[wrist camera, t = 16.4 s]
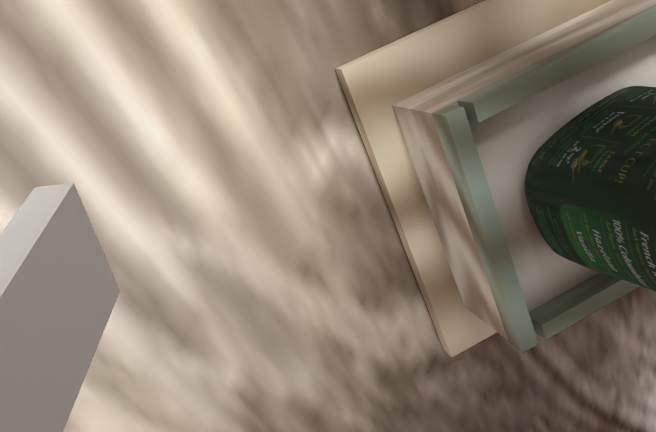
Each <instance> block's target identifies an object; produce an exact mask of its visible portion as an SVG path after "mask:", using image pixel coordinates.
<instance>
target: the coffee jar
mask: <svg viewBox="0 0 656 432" xmlns="http://www.w3.org/2000/svg"><path fill="white" fill-rule="evenodd" d="M525 194H526V199H527V203H528V206H529V210H530V213H531V215H532V217H533V219H534V222H535V224H536V226H537V228H538V230H539V232H540V233H541V235H542V237H543V238H544V240H545V241H546V243H547V244H548V245H549V246H550V248H551V249H552V250H553V251H554V252H555V253H557V254H558V255H560V256H562V257H563V258H565V259H568V260H570V261H572V262H575V263H577V264H579V265H582V266H584V267H587V268H589V269H592V270H595V271H598V272H600V273H603V274H606V275H609V276H612V277H615V278H618V279H622V280H625V281H628V282H631V283H634V284H637V285H640V286H643V287H646V288H648V289H651V290H654V291H656V87H648V86H630V87H626V88H623V89H620V90H618V91H616V92H614V93H612V94H610V95H608V96H606V97H605V98H603V99H601V100H600V101H598V102H596V103H594V104H593V105H591V106H590V107H588V108H587V109H585V110H584V111H582V112H581V113H580V114H578V115H577V116H576V117H574V118H573V119H571V120H570V121H569V122H567V123H566V124H565V125H564V126H563V127H561V128H560V129H559V130H558V131H557V132H555V133H554V134H553V135H552V136H551V137H550V138H549V139H548V140H547V141H546V142H545V143H544V144H543V145H542V146H541V147H540V148H539V149H538V150H537V151H536V152H535V154H534V155H533V157H532V159H531V161H530V163H529V164H528V169H527V173H526V178H525Z"/></svg>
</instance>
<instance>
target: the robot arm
mask: <svg viewBox="0 0 656 432" xmlns="http://www.w3.org/2000/svg"><path fill="white" fill-rule="evenodd" d="M119 292H120V289H119V287H118V285H117V282H116V280H115V278H114V275H113V273H112V271H111V268H110V266H109V264H108V262H107V259H106V257H105V255H104V252H103V250H102V248H101V245H100V243H99V241H98V238H97V236H96V234H95V231H94V229H93V227H92V224H91V222H90V220H89V218H88V215H87V213H86V211H85V208H84V206H83V204H82V201H81V199H80V197H79V194H78V192H77V190H76V187H75V185H74V183H69V184H60V185H52V186H43V187H35V188H34V189H33V191H32V192H31V194H30V195H29V196H28V198H27V199H26V200H25V202H24V203H23V204H22V206H21V207H20V209H19V210H18V211H17V213H16V214H15V215H14V217H13V218H12V219H11V221H10V222H9V224H8V225H7V226H6V228H5V229H4V230H3V232H2V233H1V234H0V432H63V430H64V427H65V425H66V423H67V420H68V418H69V415H70V413H71V410H72V408H73V405H74V403H75V400H76V398H77V395H78V393H79V391H80V388H81V386H82V383H83V381H84V378H85V376H86V373H87V371H88V368H89V366H90V363H91V361H92V358H93V356H94V354H95V351H96V349H97V346H98V344H99V341H100V339H101V336H102V334H103V331H104V329H105V326H106V324H107V322H108V319H109V317H110V314H111V312H112V309H113V307H114V304H115V302H116V299H117V297H118V294H119Z"/></svg>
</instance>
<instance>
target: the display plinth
mask: <svg viewBox="0 0 656 432" xmlns="http://www.w3.org/2000/svg"><path fill="white" fill-rule="evenodd" d="M335 71H336V73H337V76H338V78H339V81H340V84H341V86H342V89H343V91H344V94H345V96H346V99H347V102H348V104H349V107H350V109H351V112H352V115H353V117H354V120H355V122H356V125H357V127H358V130H359V133H360V135H361V138H362V140H363V143H364V146H365V148H366V151H367V153H368V156H369V158H370V161H371V164H372V166H373V169H374V171H375V174H376V177H377V179H378V182H379V184H380V187H381V189H382V192H383V195H384V197H385V200H386V202H387V205H388V208H389V210H390V213H391V215H392V218H393V220H394V223H395V226H396V228H397V231H398V233H399V236H400V239H401V241H402V244H403V246H404V249H405V251H406V254H407V257H408V259H409V262H410V264H411V267H412V270H413V272H414V275H415V277H416V280H417V282H418V285H419V288H420V290H421V293H422V295H423V298H424V301H425V303H426V306H427V308H428V311H429V313H430V316H431V319H432V321H433V324H434V326H435V329H436V332H437V334H438V337H439V339H440V342H441V344H442V347H443V349H444V350H445V351H446V352H447V353H448V354H449V355H450V356H451V357H454V356H456V355H457V354H459V353H461V352H463V351H465V350H466V349H468V348H470V347H472V346H474V345H475V344H477V343H479V342H481V341H482V340H484V339H486V338H488V337H490V336H491V335H493V334H495V333H497V332H498V333H499V334H500V335H501V336H503V337H504V338H505V339H507V340H508V341H509V342H510V343H512V344H513V345H514V346H515V347H517V348H518V349H519V350H521V351H522V352H523V353H524V352H526V351H527V350H529V349H531V348H533V347H534V346H536V345H538V344H539V343H538V340H537V337H536V334H535V332H536V333H538V334H539V335H540V336H542V337H543V338H545V339H546V340H547V339H548V338H550V337H552V336H554V335H555V334H557V333H559V332H561V331H562V330H564V329H566V328H568V327H569V326H571V325H573V324H575V323H576V322H578V321H580V320H582V319H583V318H585V317H587V316H589V315H590V314H592V313H594V312H596V311H597V310H599V309H601V308H603V307H604V306H606V305H608V304H610V303H612V302H613V301H615V300H617V299H619V298H620V297H622V296H624V295H626V294H627V293H629V292H631V291H633V290H634V289H636V288H638V287H640V285H637V284H634V283H631V282H628V281H625V280H622V279H618V278H615V277H612V276H609V275H606V274H603V273H600V272H598V271H595V270H592V269H589V268H587V267H584V266H582V265H579V264H577V263H575V262H572V261H570V260H568V259H565V258H563V257H562V256H560V255H558V254H557V253H555V252H554V251H553V250H552V249H551V248H550V246H549V245H548V244H547V243H546V241H545V240H544V238H543V237H542V235H541V233H540V232H539V230H538V228H537V226H536V224H535V222H534V219H533V217H532V215H531V213H530V210H529V206H528V203H527V199H526V194H525V178H526V173H527V169H528V164H529V163H530V161H531V159H532V157H533V155H534V154H535V152H536V151H537V150H538V149H539V148H540V147H541V146H542V145H543V144H544V143H545V142H546V141H547V140H548V139H549V138H550V137H551V136H552V135H553V134H554V133H555V132H557V131H558V130H559V129H560V128H561V127H563V126H564V125H565V124H566V123H567V122H569V121H570V120H571V119H573V118H574V117H576V116H577V115H578V114H580V113H581V112H582V111H584V110H585V109H587V108H588V107H590V106H591V105H593V104H594V103H596V102H598V101H600V100H601V99H603V98H605V97H606V96H608V95H610V94H612V93H614V92H616V91H618V90H620V89H623V88H626V87H630V86H648V87H656V0H484V1H481V2H479V3H477V4H475V5H473V6H470V7H468V8H466V9H464V10H462V11H460V12H457V13H455V14H453V15H451V16H449V17H446V18H444V19H442V20H440V21H438V22H435V23H433V24H431V25H429V26H427V27H425V28H422V29H420V30H418V31H416V32H414V33H411V34H409V35H407V36H405V37H403V38H401V39H398V40H396V41H394V42H392V43H390V44H387V45H385V46H383V47H381V48H379V49H376V50H374V51H372V52H370V53H368V54H366V55H363V56H361V57H359V58H357V59H355V60H352V61H350V62H348V63H346V64H344V65H342V66H339V67H337V68H335Z"/></svg>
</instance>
